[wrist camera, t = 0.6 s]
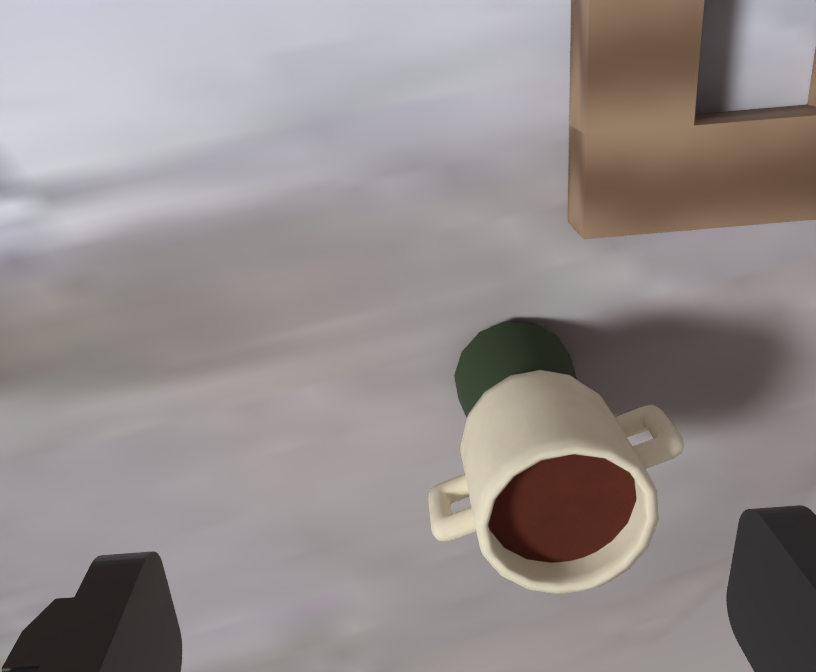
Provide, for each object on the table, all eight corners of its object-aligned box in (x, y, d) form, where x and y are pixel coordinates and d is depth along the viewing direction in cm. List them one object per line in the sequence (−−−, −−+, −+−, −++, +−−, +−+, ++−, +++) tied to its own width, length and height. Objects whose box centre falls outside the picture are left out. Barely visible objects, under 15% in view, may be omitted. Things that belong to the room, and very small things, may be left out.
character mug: (442, 455, 41) (469, 633, 29) (392, 353, 39) (399, 504, 27) (624, 385, 40) (729, 542, 28) (585, 274, 37) (684, 396, 25)
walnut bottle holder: (573, -161, 29) (594, -179, 27) (963, -193, 29) (1023, -214, 27) (567, 222, 36) (583, 239, 33) (886, 194, 36) (928, 209, 33)
